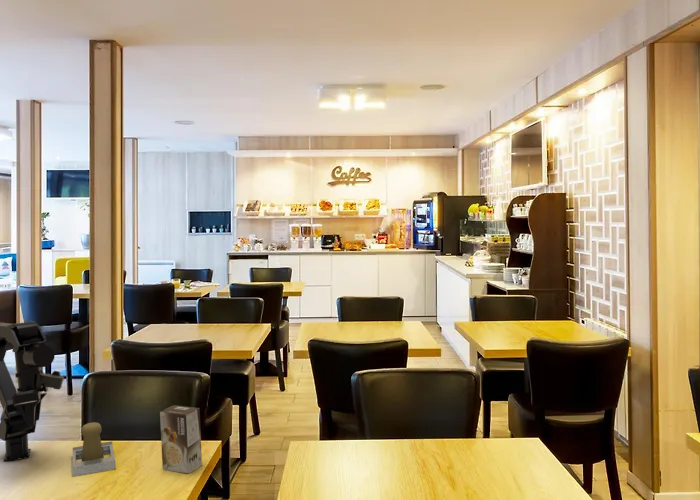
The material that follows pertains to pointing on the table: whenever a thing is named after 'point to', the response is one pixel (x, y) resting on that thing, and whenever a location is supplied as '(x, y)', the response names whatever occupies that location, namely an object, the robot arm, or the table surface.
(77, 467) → the silver metal frame
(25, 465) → the table surface
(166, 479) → the table surface
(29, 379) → the robot arm
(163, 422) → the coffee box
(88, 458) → the cork
